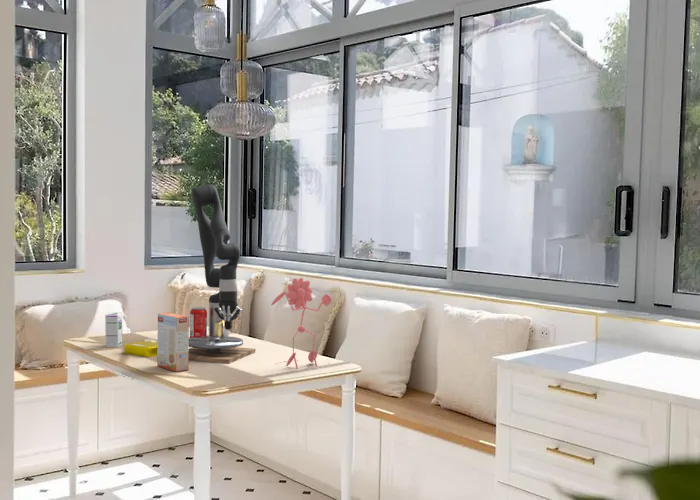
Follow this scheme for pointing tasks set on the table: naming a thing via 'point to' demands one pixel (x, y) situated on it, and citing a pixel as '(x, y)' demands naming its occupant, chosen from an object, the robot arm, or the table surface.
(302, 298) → the figurine
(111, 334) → the syrup box
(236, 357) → the winch base
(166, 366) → the cracker box
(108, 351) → the table surface
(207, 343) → the handwheel
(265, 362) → the table surface
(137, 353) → the element tile
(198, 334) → the soda can
